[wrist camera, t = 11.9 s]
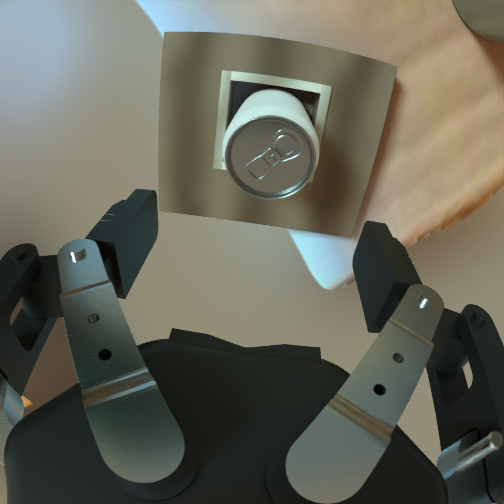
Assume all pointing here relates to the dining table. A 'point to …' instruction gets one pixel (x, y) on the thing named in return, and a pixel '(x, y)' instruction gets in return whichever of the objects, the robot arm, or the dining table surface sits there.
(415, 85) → the dining table surface
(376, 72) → the socket board
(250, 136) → the can
